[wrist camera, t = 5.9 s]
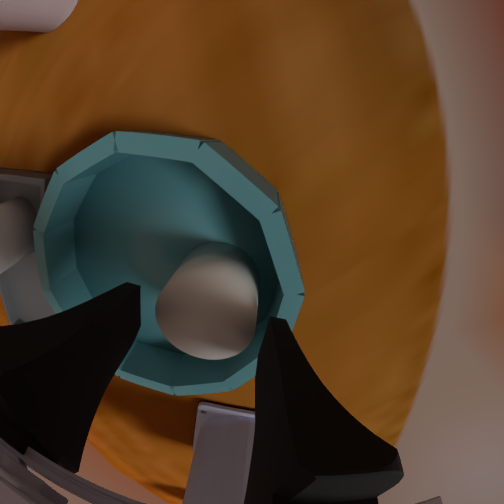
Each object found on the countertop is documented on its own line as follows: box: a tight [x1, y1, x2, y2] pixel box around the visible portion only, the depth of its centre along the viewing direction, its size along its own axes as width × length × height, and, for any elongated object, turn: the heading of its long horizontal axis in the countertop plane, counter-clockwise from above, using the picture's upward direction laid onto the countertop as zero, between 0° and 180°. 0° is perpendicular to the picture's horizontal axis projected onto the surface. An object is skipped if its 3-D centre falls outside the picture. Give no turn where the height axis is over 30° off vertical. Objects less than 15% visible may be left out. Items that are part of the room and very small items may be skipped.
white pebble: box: [0, 197, 37, 274], centre depth 12 cm, size 4×4×4 cm
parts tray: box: [0, 168, 55, 325], centre depth 15 cm, size 13×7×2 cm, turn 168°
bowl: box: [33, 131, 305, 396], centre depth 13 cm, size 13×13×4 cm
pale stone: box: [155, 242, 260, 360], centre depth 12 cm, size 4×4×4 cm
